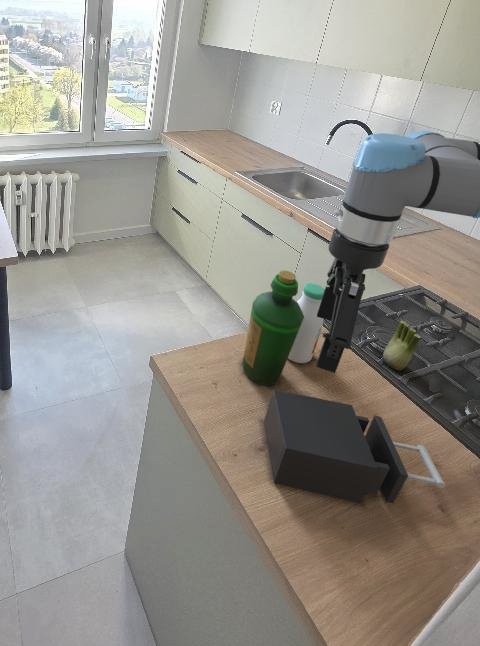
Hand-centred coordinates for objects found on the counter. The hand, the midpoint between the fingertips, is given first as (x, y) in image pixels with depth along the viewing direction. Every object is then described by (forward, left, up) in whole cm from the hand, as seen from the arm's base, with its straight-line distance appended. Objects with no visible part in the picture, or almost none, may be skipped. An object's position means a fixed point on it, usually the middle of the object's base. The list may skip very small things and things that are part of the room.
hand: (325, 341), depth 72 cm
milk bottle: (+1, -27, -27) cm, 38 cm away
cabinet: (-3, +2, -27) cm, 27 cm away
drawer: (-13, -1, -26) cm, 29 cm away
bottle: (+8, -16, -27) cm, 33 cm away
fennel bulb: (-21, -35, -27) cm, 49 cm away
